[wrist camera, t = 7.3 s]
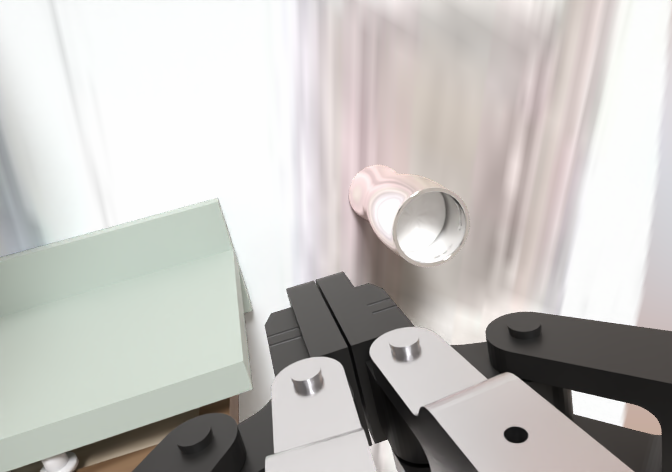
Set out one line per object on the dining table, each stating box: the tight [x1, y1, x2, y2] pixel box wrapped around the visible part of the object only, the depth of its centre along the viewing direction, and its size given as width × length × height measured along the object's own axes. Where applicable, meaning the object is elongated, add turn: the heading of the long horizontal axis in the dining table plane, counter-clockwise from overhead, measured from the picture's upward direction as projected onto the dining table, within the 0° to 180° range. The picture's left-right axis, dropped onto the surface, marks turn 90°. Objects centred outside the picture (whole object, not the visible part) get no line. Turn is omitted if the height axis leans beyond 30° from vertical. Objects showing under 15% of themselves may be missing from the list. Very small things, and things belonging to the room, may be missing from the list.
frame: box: [7, 394, 239, 472], centre depth 34 cm, size 2×20×14 cm, turn 104°
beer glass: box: [349, 165, 470, 267], centre depth 46 cm, size 7×7×15 cm
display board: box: [0, 198, 253, 472], centre depth 39 cm, size 12×24×24 cm, turn 104°
